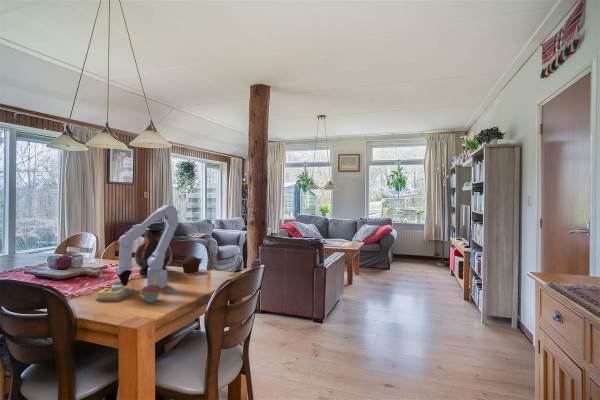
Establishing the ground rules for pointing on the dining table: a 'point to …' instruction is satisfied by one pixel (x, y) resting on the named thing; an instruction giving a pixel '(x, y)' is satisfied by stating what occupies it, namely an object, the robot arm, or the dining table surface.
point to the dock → (113, 294)
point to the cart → (116, 286)
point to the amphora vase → (151, 249)
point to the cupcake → (151, 292)
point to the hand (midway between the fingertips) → (124, 285)
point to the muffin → (191, 264)
